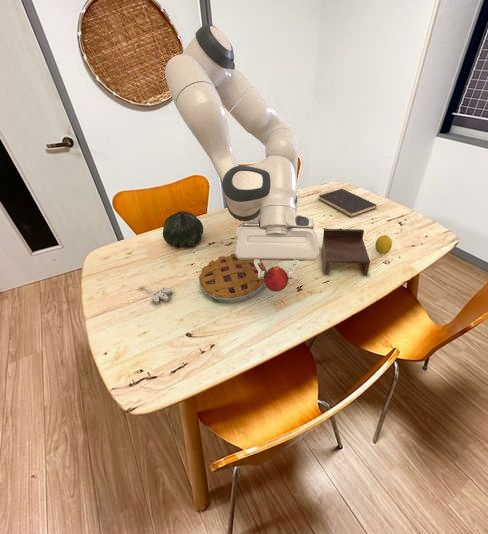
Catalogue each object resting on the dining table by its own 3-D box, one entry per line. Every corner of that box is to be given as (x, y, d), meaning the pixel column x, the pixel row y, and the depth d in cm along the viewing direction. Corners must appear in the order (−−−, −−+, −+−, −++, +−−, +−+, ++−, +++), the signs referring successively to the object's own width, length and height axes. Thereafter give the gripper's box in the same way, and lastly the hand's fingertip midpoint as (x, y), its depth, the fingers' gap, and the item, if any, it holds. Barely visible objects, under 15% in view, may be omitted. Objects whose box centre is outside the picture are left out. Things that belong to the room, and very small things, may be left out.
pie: (194, 272, 95) (191, 261, 92) (254, 256, 102) (253, 245, 99) (209, 316, 80) (206, 303, 77) (278, 293, 86) (278, 281, 83)
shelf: (321, 249, 105) (323, 228, 99) (359, 250, 104) (363, 229, 99) (324, 274, 93) (327, 252, 88) (366, 275, 92) (372, 253, 87)
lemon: (389, 259, 99) (395, 240, 94) (373, 257, 100) (378, 238, 95) (388, 250, 104) (393, 231, 99) (372, 248, 105) (377, 230, 100)
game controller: (165, 305, 83) (163, 299, 82) (131, 301, 85) (128, 295, 84) (174, 292, 88) (172, 286, 86) (141, 289, 89) (139, 282, 88)
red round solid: (271, 301, 67) (270, 276, 62) (261, 287, 71) (259, 262, 66) (292, 293, 69) (292, 268, 64) (281, 280, 73) (280, 255, 68)
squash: (165, 221, 113) (156, 206, 99) (202, 218, 116) (199, 203, 102) (168, 255, 111) (160, 244, 96) (206, 250, 114) (204, 239, 100)
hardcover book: (351, 217, 124) (351, 212, 123) (318, 199, 140) (318, 195, 138) (376, 208, 131) (376, 204, 129) (342, 192, 146) (342, 188, 145)
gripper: (233, 218, 66) (230, 277, 64) (320, 219, 64) (319, 278, 63) (238, 225, 72) (236, 279, 70) (317, 226, 71) (317, 280, 69)
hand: (276, 278), depth 66 cm, fingers closed on red round solid, 6 cm apart
